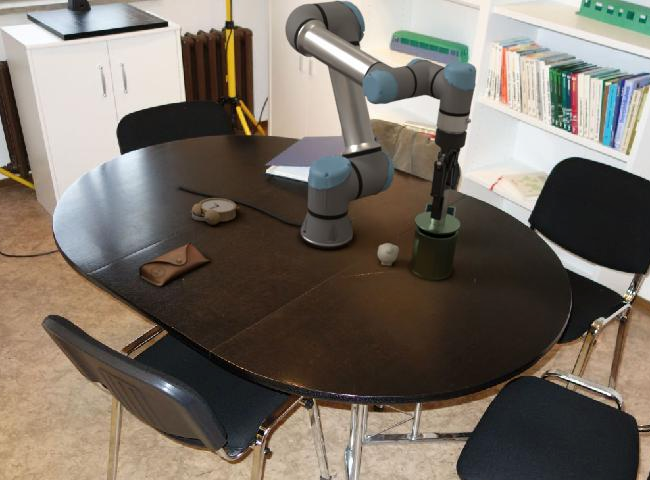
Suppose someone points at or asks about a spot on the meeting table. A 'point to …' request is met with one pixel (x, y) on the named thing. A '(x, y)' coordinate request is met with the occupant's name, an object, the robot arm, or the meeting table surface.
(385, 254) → the paper ball
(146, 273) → the sunglasses case
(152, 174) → the meeting table surface
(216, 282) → the meeting table surface
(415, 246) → the trash can
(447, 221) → the bin lid
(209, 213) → the alarm clock
